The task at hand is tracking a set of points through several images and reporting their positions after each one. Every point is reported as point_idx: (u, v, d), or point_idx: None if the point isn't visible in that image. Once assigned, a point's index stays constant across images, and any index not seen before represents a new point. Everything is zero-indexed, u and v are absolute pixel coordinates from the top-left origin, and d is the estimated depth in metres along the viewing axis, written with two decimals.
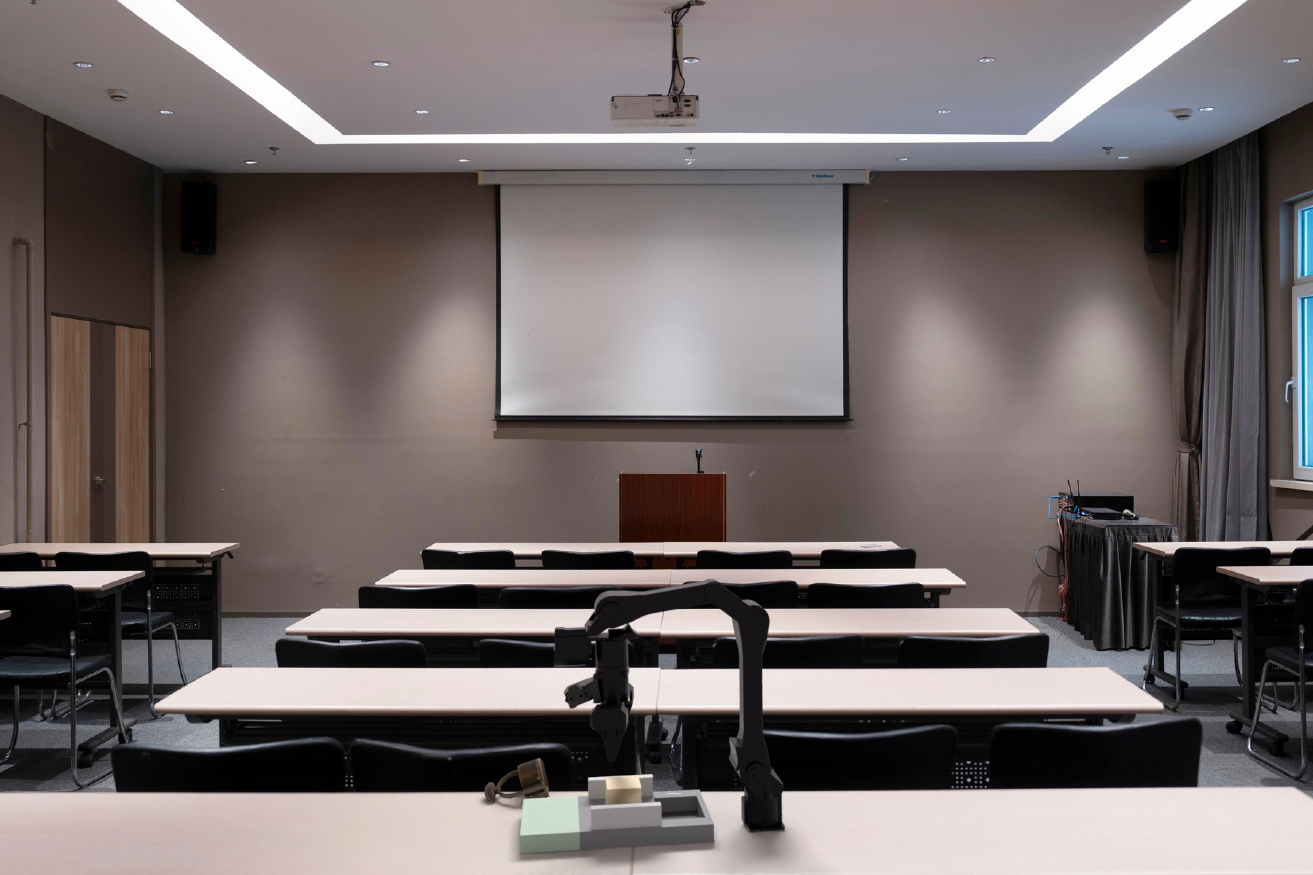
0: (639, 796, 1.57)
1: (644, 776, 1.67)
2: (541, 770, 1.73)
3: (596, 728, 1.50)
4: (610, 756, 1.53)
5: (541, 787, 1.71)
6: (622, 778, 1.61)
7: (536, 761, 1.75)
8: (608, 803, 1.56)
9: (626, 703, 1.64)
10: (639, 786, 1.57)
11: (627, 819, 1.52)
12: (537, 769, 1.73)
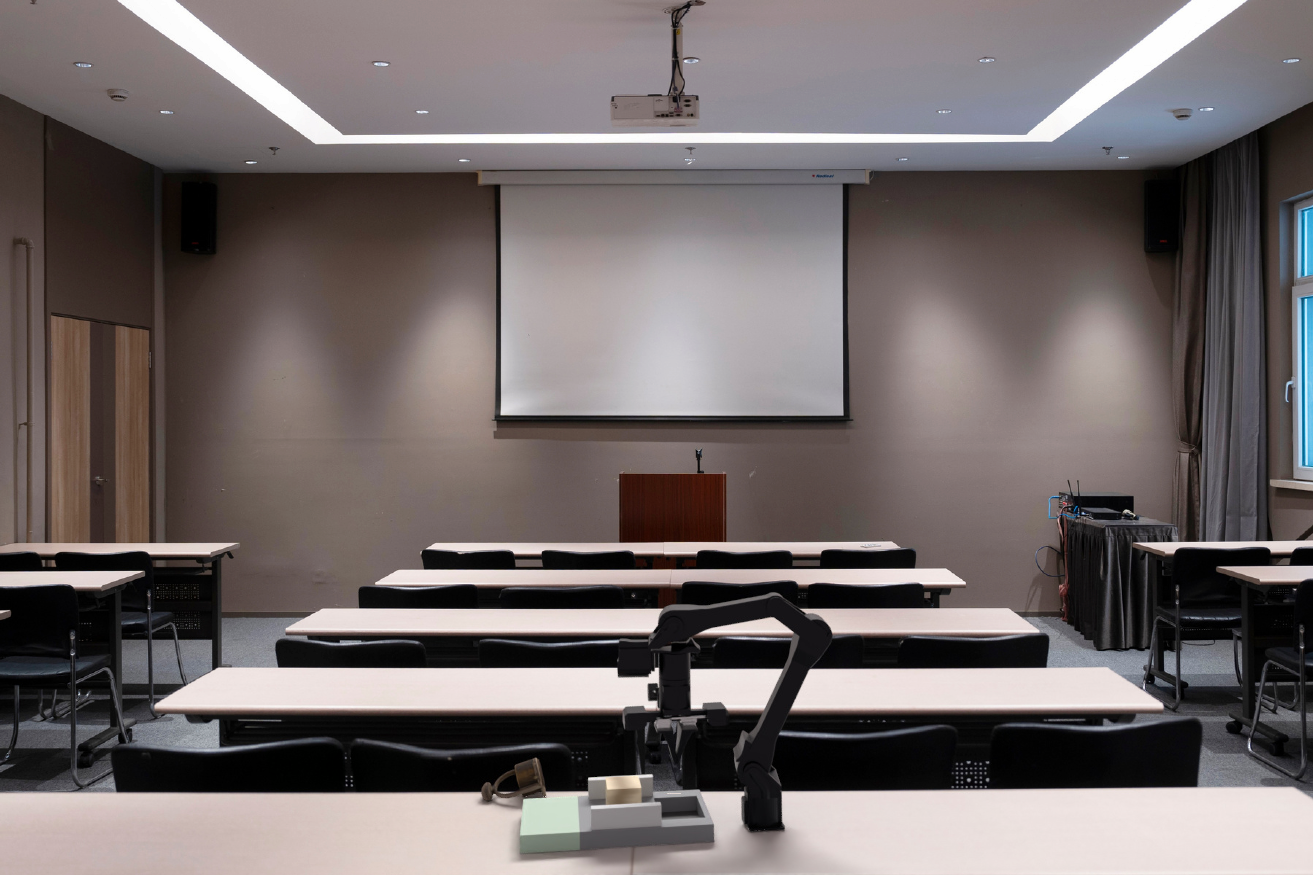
0: (639, 796, 1.57)
1: (644, 776, 1.67)
2: (538, 770, 1.73)
3: (654, 723, 1.62)
4: None
5: (538, 787, 1.72)
6: (622, 778, 1.61)
7: (533, 761, 1.75)
8: (608, 803, 1.56)
9: (685, 727, 1.59)
10: (639, 786, 1.57)
11: (627, 819, 1.52)
12: (535, 769, 1.73)
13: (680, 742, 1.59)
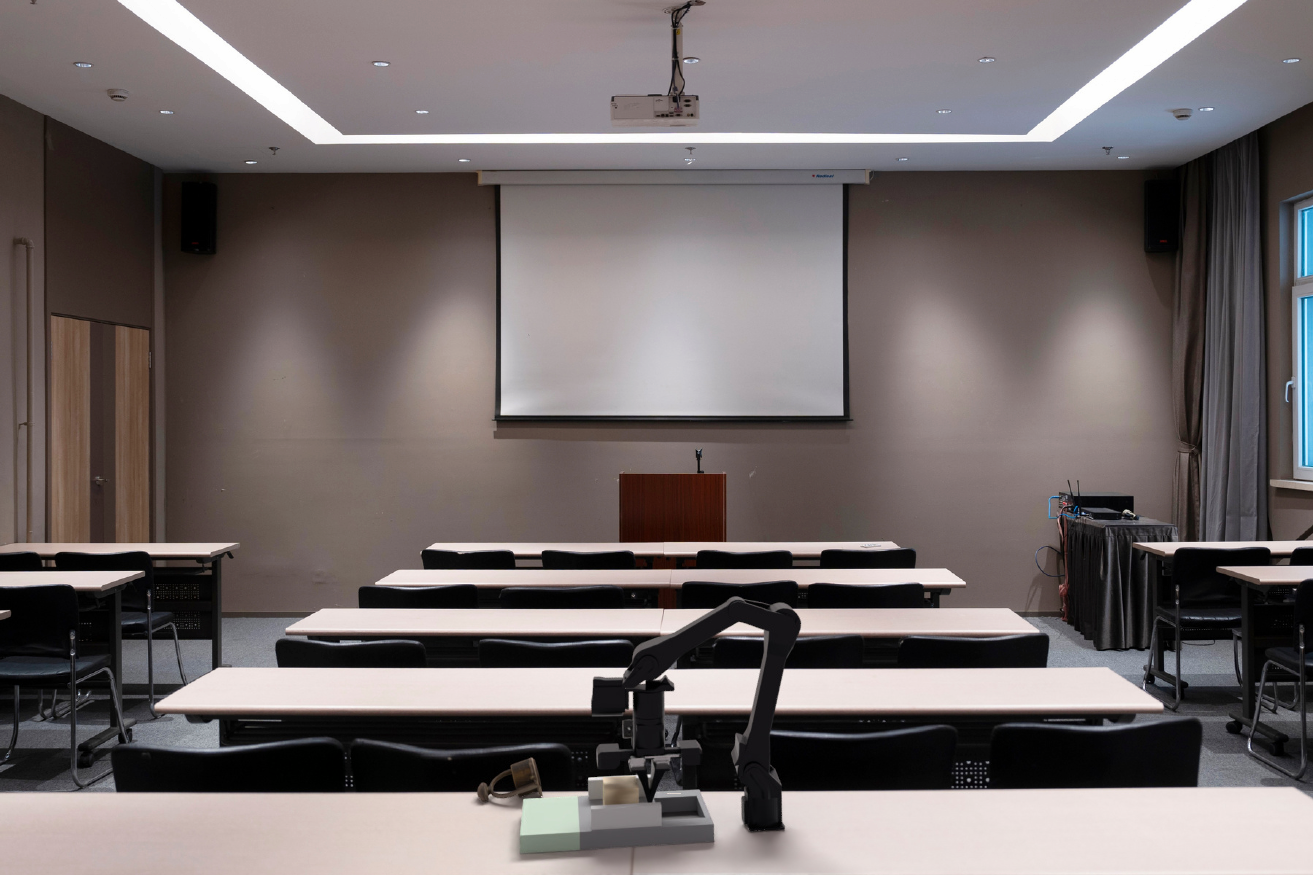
0: (637, 796, 1.57)
1: None
2: (535, 769, 1.73)
3: (628, 761, 1.62)
4: None
5: (535, 786, 1.72)
6: (619, 778, 1.61)
7: (529, 760, 1.75)
8: (605, 803, 1.56)
9: (659, 766, 1.58)
10: (636, 786, 1.57)
11: (627, 819, 1.52)
12: (531, 768, 1.73)
13: (653, 781, 1.58)
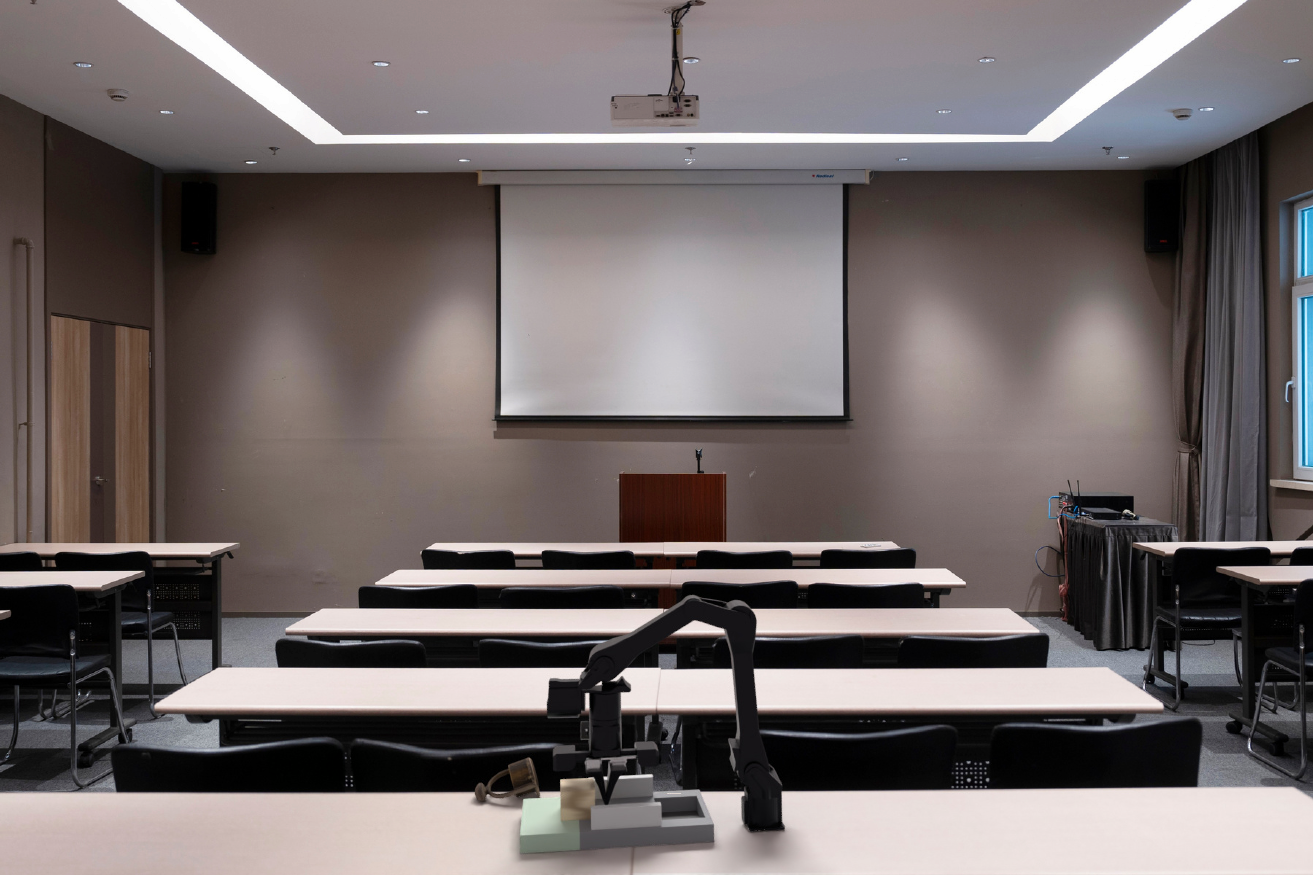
0: (593, 799, 1.56)
1: (644, 776, 1.67)
2: (532, 769, 1.74)
3: None
4: None
5: (533, 786, 1.72)
6: (577, 781, 1.60)
7: (527, 760, 1.75)
8: (561, 805, 1.55)
9: (615, 768, 1.58)
10: (593, 788, 1.57)
11: (627, 819, 1.52)
12: (529, 768, 1.74)
13: (609, 783, 1.57)
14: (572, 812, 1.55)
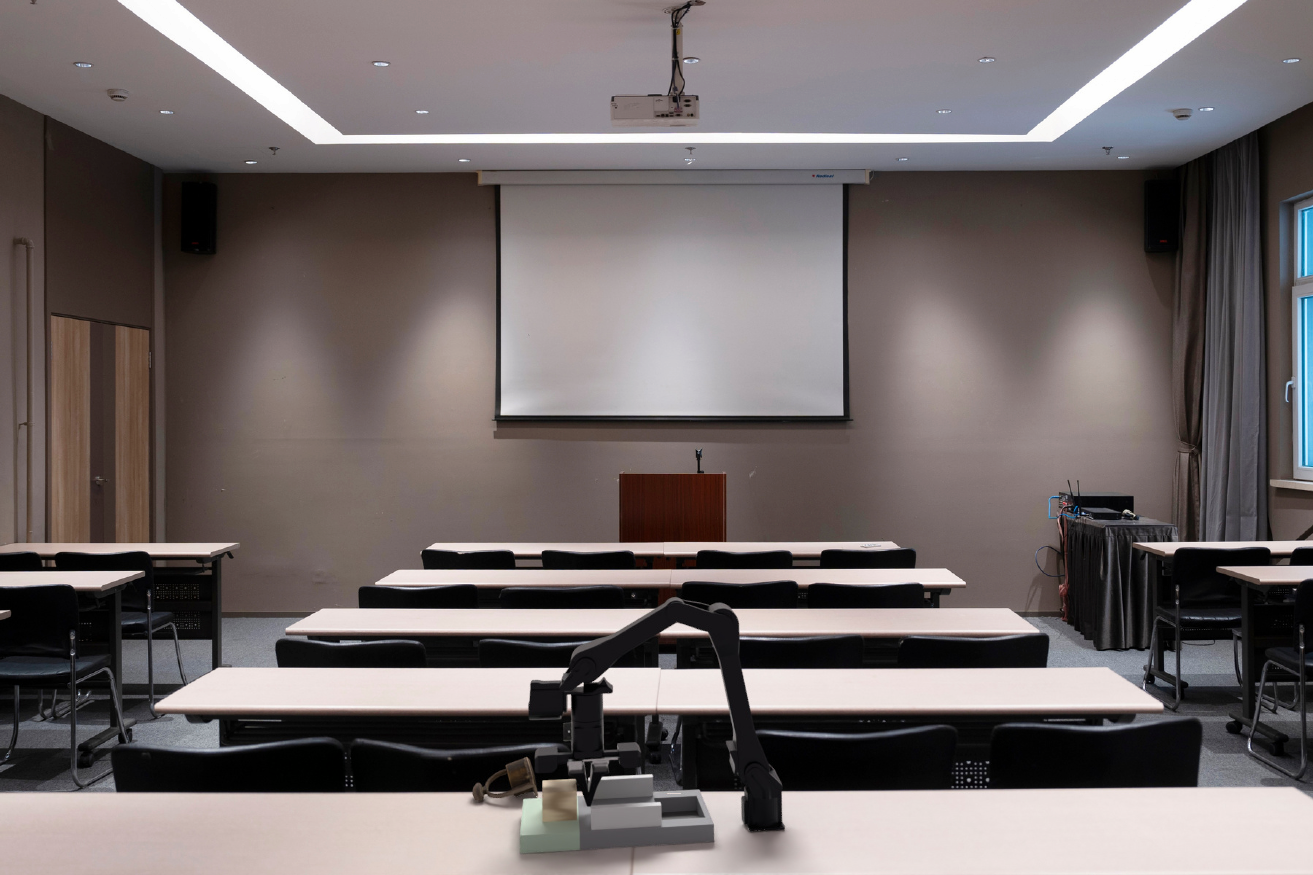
0: (575, 800, 1.56)
1: (644, 776, 1.67)
2: (530, 769, 1.74)
3: None
4: None
5: (531, 786, 1.72)
6: (559, 782, 1.60)
7: (524, 760, 1.75)
8: (543, 807, 1.55)
9: (597, 769, 1.57)
10: (575, 789, 1.56)
11: (627, 819, 1.52)
12: (527, 768, 1.74)
13: (591, 784, 1.57)
14: (554, 813, 1.55)
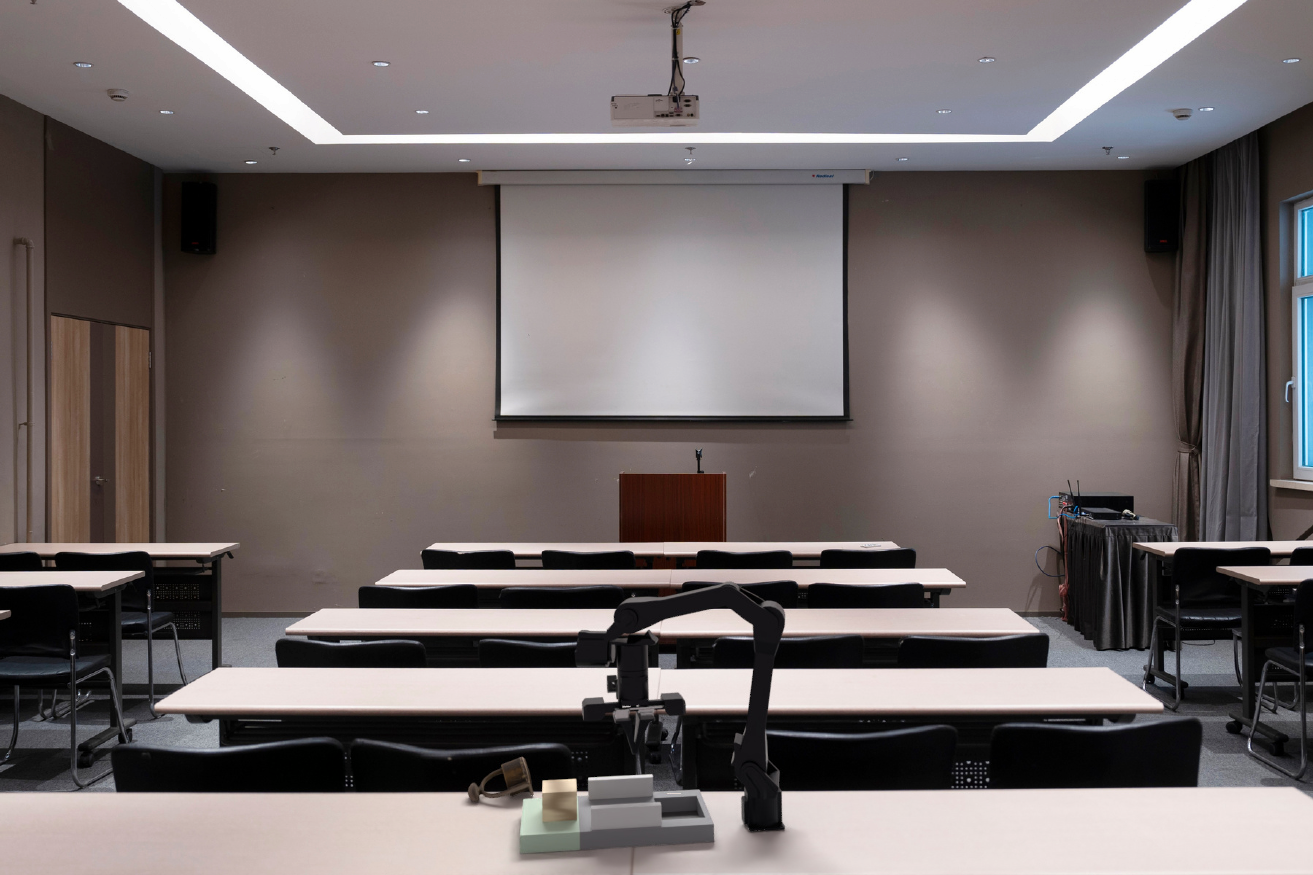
0: (575, 800, 1.56)
1: (644, 776, 1.67)
2: (526, 768, 1.74)
3: (613, 714, 1.66)
4: None
5: (527, 785, 1.72)
6: (559, 782, 1.60)
7: (520, 760, 1.75)
8: (543, 807, 1.55)
9: (643, 717, 1.62)
10: (575, 789, 1.56)
11: (627, 819, 1.52)
12: (522, 767, 1.74)
13: (638, 732, 1.62)
14: (554, 813, 1.55)
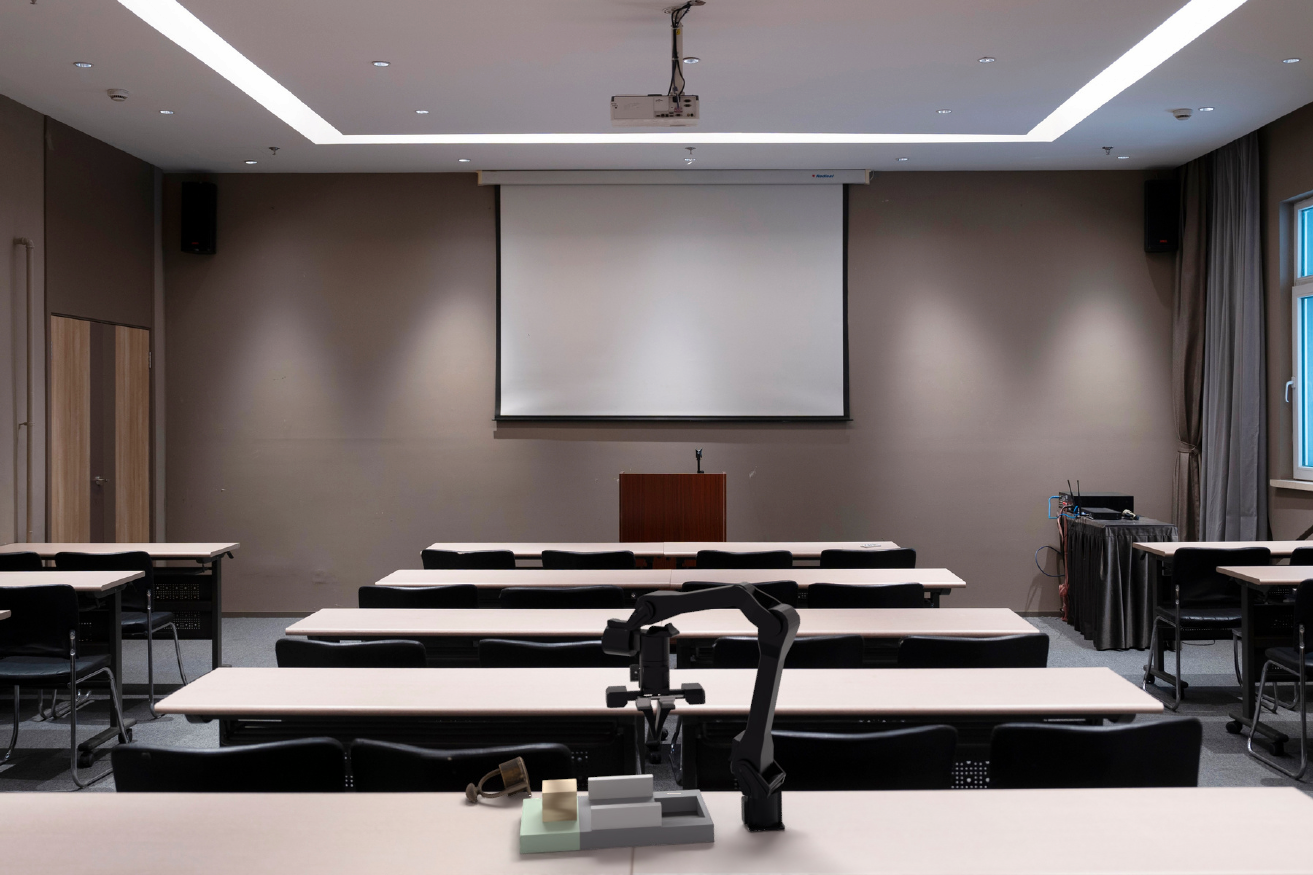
0: (575, 800, 1.56)
1: (644, 776, 1.67)
2: (524, 768, 1.74)
3: (635, 702, 1.72)
4: None
5: (525, 785, 1.73)
6: (559, 782, 1.60)
7: (518, 760, 1.76)
8: (543, 807, 1.55)
9: (664, 706, 1.69)
10: (575, 789, 1.56)
11: (627, 819, 1.52)
12: (520, 767, 1.74)
13: (659, 720, 1.68)
14: (554, 813, 1.55)
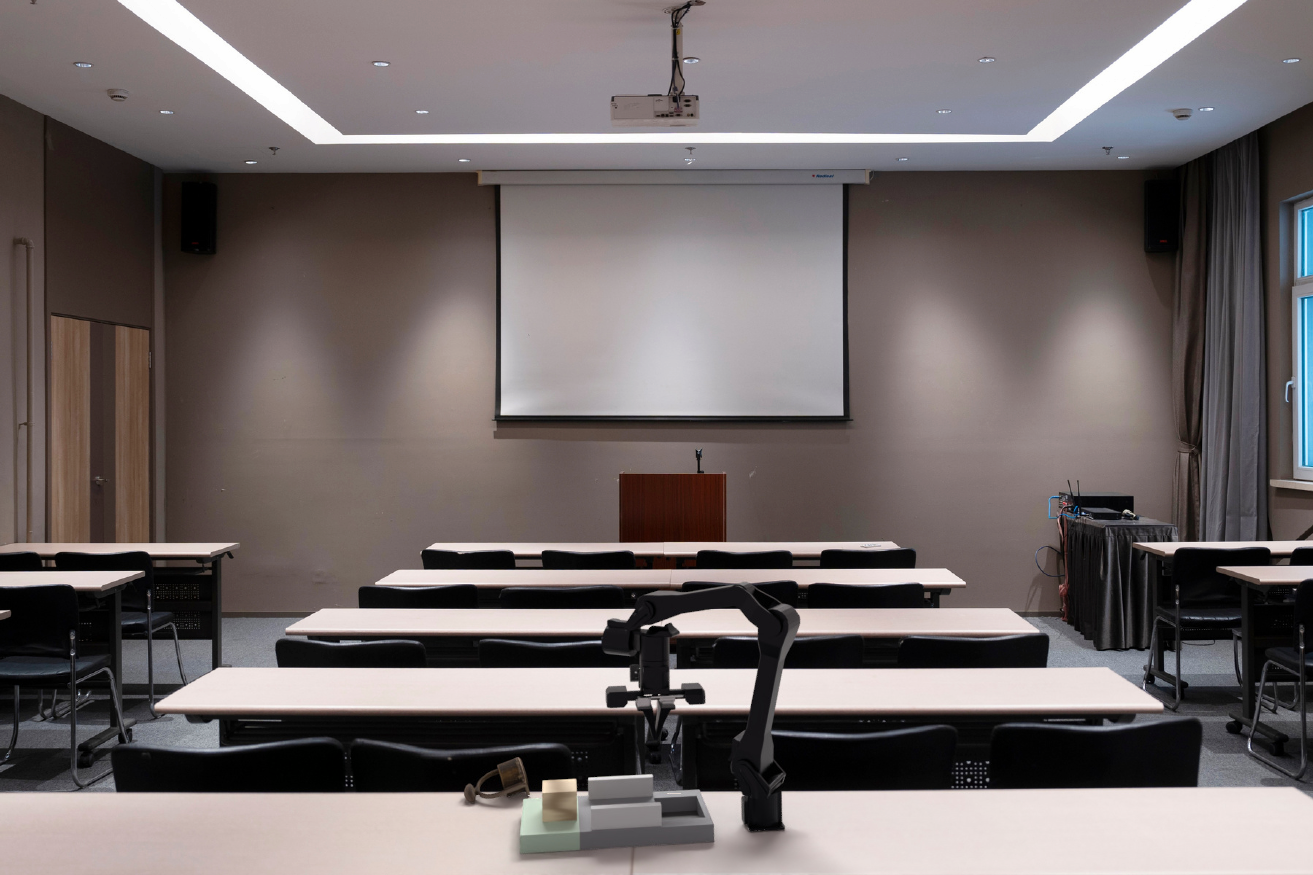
0: (575, 800, 1.56)
1: (644, 776, 1.67)
2: (522, 769, 1.74)
3: (635, 702, 1.72)
4: None
5: (523, 785, 1.73)
6: (559, 782, 1.60)
7: (516, 760, 1.75)
8: (543, 807, 1.55)
9: (664, 706, 1.69)
10: (575, 789, 1.56)
11: (627, 819, 1.52)
12: (519, 768, 1.74)
13: (659, 720, 1.68)
14: (554, 813, 1.55)
